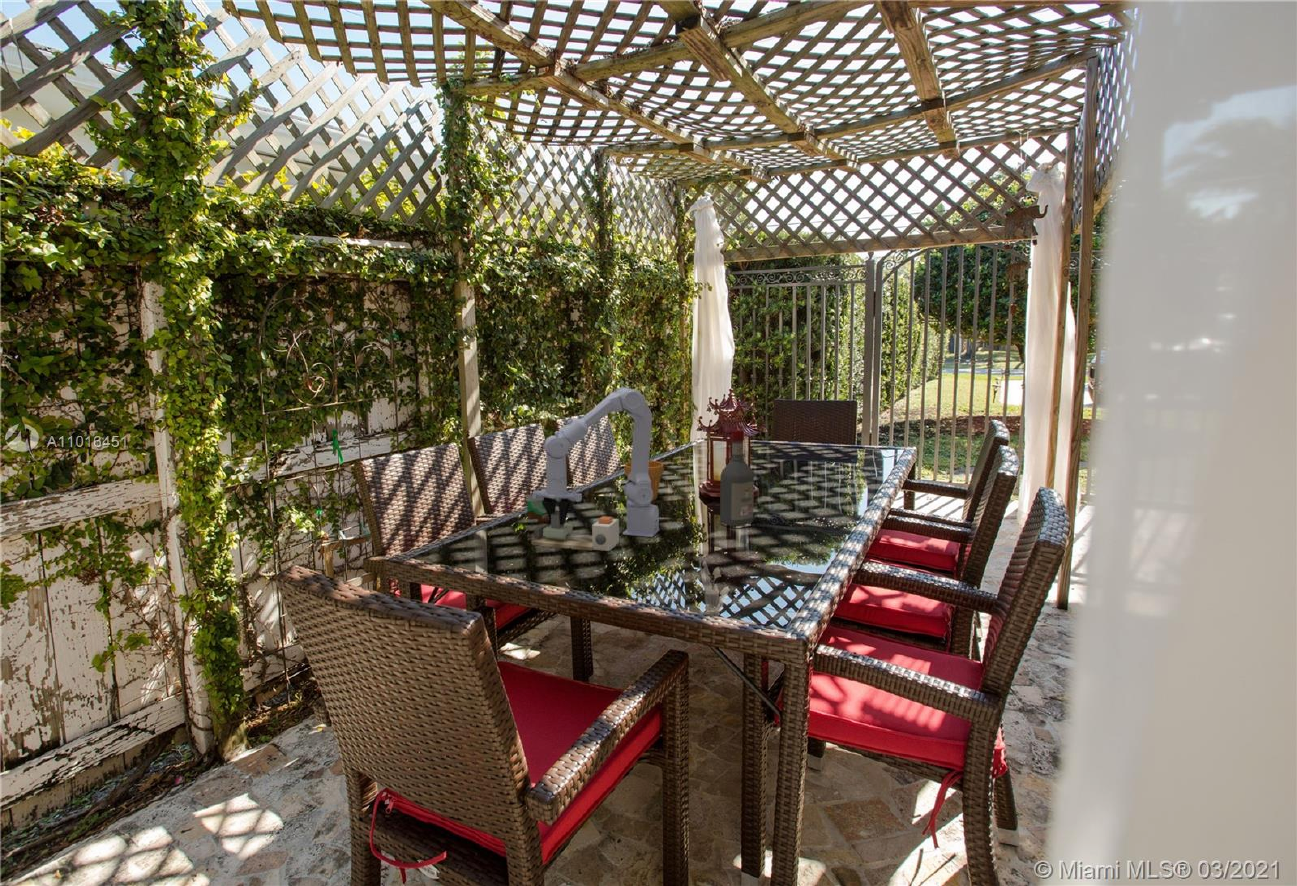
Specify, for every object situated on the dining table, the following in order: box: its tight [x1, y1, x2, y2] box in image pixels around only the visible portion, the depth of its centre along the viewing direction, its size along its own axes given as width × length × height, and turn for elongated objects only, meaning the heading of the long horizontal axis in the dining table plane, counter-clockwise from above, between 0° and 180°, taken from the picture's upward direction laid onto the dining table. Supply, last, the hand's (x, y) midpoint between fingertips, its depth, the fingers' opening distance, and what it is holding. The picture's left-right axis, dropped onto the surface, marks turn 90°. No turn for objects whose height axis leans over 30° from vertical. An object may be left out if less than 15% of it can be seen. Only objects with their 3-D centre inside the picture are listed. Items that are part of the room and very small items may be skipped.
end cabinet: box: [591, 518, 620, 552], centre depth 189 cm, size 5×8×7 cm, turn 163°
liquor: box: [719, 429, 755, 526], centre depth 209 cm, size 9×9×30 cm
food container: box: [525, 486, 550, 524], centre depth 216 cm, size 12×6×10 cm, turn 168°
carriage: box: [543, 510, 573, 539], centre depth 194 cm, size 6×7×7 cm
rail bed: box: [530, 523, 593, 551], centre depth 193 cm, size 19×10×4 cm, turn 73°
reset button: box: [598, 515, 613, 524], centre depth 189 cm, size 3×3×2 cm
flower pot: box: [624, 460, 664, 501], centre depth 244 cm, size 14×14×13 cm
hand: (557, 523), depth 194 cm, fingers closed on carriage, 2 cm apart
